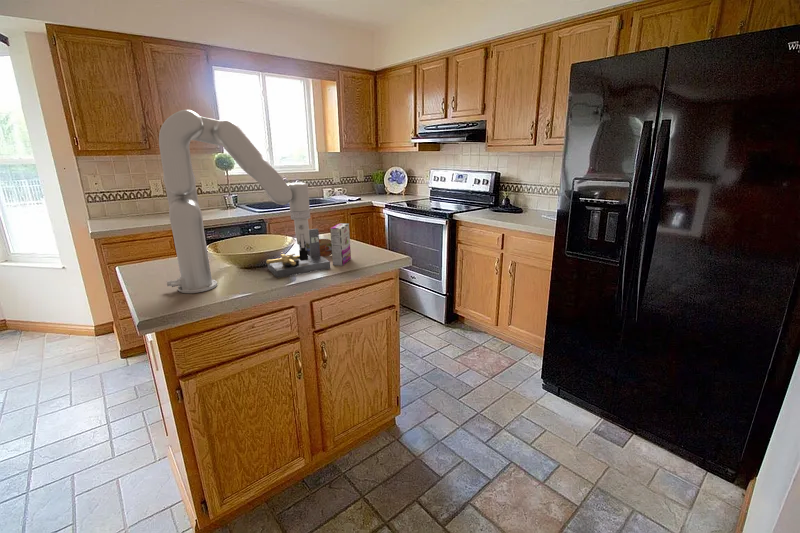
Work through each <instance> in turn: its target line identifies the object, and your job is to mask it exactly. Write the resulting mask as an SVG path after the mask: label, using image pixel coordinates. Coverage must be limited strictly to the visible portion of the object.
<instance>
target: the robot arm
mask: <svg viewBox="0 0 800 533" xmlns="http://www.w3.org/2000/svg"><path fill="white" fill-rule="evenodd" d="M191 141H197V142H201V143H204V144H205V143H206V144H211V145H215V146H216V145H218V146H222V147H223V149H224V150H225V151H226V152H227V153H228V155H229V156H230V157H231V158H232V159H233V160H234V161H235V162H236V164H237V165H238V166H239V167H240V168H241V169H242V170H243V171H244V173H246V174H247V175H248V176H250V177H251V178H252V179H254V180H255V181H256V182H257V183H258V184H259V185H260V186H261V187H262V188H263V189H264V191H265V194H266V197H267V198H268V200H269V201H271V202H273V203H275V204H277V205H281V206H285V205H287V204H289V211H290V212H289V214H290V220H291V221H292V220H293V223H294V233H295V238H296V244H297V245H298V247H299V250H298V252H299V255H300V260H301V261H302V260H308V256H309V255H308V251H307V246H306V243H308V244H310V236H309V229H310V228H309V227H310V226H309V220H310V219H311V208H310V196H309V194H310V193H309V186H308V184H307V183H306V182H291V183H287V182H286V181H285V179H283V177H282V176H281V175H280V173H279V172H278V171H277V170H276V169H275V168H274V166H272V164H270V162H269V161H268V160H267V158H265V157H264V155H262V154H261V153H260V151H259V149H257V147H256V146H255V145H254V144H253V142H251V140H250V139H249V138H248V137H247V136H246V134H245V133H244V132H243V130H242V128H240V127H239V125H237V123H236V122H234V121H233V120H231V119H222V120H219V119H214V118H209V117H204V116H200V115H199V114H198V113H197V112H195V111H193V110H191V109H181V110H179V111H176V112H174V113H173V114H171V115H169V116H168V117H167V118H166V119H165V121H163V123H162V125H161V127H160V130H159V135H158V145H159V154H160V161H161V167H162V172H163V176H162V179H163V184H164V187H165V191H166V197H167V203H168V208H169V209H168V217H169V223H170V228H171V231H172V236H173V243H174V247H175V252H176V257H177V258H176V259H177V264H178V268H179V269H178V270H179V274H180V275H179V278H176V279H174V280H173V279H172V280H166V285H167V287H171V288H175V287H177V291H178V292H179V293H182V294H196V293H203V292H207V291H210V290H213V289H214V288H216V287H217V286H218V281H217V280H215V279H213V277H212V271H211V265H210V258H209V254H208V246H207V241H206V236H205V235H206V234H205V228H204V220H203V213H202V209H201V207H200V204H199V197H198V192H197V185H196V184H197V183H196V181H197V180H196V179H197V178H196V176H195V174H194V168H193V164H192V156H191V149H190V146H191Z"/></svg>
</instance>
